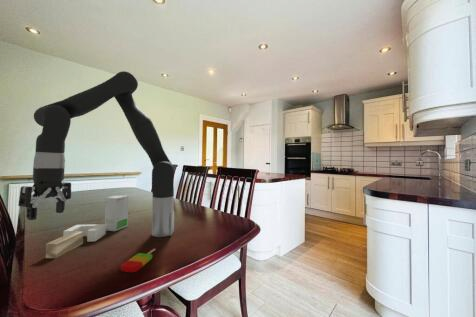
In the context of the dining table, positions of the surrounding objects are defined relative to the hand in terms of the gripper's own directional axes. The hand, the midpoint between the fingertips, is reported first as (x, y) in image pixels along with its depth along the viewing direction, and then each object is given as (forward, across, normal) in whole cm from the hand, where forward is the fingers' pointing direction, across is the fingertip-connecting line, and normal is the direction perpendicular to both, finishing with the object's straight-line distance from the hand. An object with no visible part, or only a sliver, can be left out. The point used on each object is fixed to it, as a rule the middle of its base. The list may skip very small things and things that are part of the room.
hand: (46, 216), depth 66 cm
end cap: (+15, -20, -4) cm, 25 cm away
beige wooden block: (+15, -9, -1) cm, 18 cm away
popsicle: (+15, -6, +30) cm, 34 cm away
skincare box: (+15, -33, 0) cm, 36 cm away
